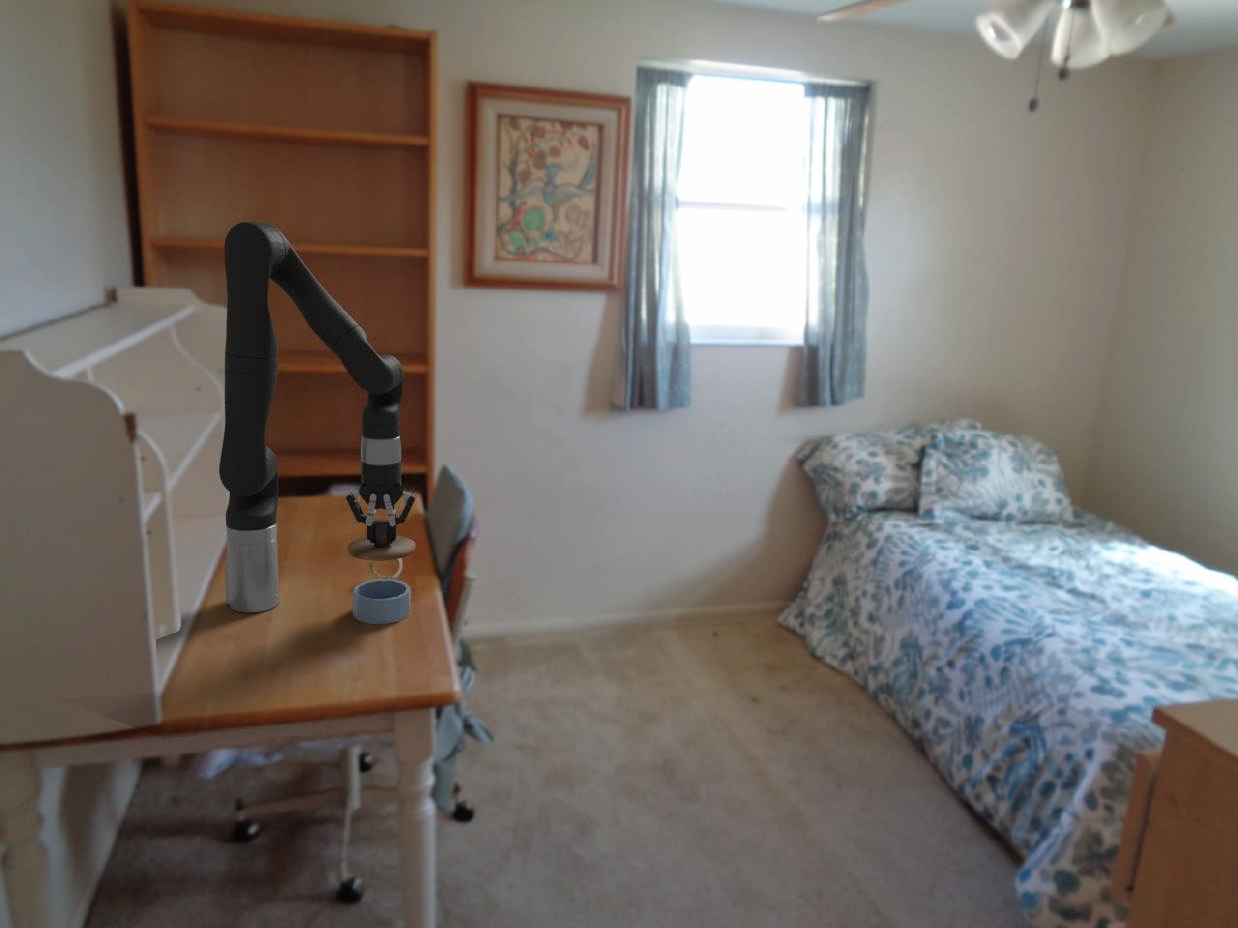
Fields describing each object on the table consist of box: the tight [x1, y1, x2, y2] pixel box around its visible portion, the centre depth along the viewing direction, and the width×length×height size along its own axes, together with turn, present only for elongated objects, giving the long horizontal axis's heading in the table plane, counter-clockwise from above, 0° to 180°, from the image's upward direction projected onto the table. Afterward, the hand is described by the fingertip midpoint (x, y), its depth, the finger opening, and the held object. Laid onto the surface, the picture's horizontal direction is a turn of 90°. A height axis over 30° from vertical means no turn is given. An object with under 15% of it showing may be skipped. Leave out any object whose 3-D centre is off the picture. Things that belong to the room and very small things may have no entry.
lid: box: [347, 518, 416, 562], centre depth 171 cm, size 13×13×6 cm
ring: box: [369, 558, 404, 580], centre depth 190 cm, size 7×3×8 cm, turn 98°
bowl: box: [352, 578, 412, 625], centre depth 174 cm, size 11×11×5 cm
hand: (381, 541), depth 171 cm, fingers closed on lid, 3 cm apart
